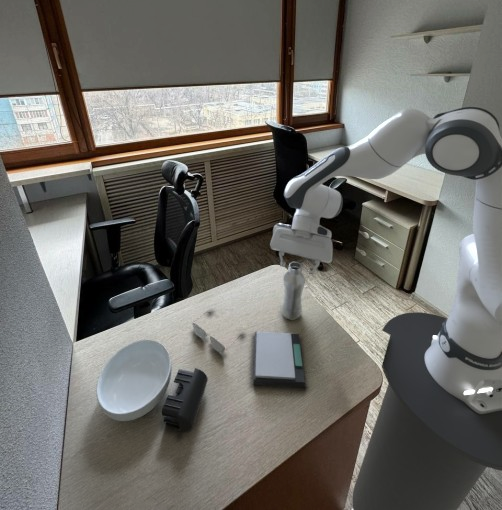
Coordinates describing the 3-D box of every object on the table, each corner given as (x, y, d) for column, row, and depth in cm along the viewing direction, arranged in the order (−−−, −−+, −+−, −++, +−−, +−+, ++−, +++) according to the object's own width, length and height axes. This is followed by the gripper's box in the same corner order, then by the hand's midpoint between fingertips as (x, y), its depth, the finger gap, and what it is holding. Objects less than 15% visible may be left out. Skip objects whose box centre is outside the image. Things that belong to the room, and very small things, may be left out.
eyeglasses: (191, 330, 82) (191, 320, 81) (210, 314, 88) (210, 304, 87) (225, 358, 74) (226, 347, 73) (243, 338, 81) (243, 328, 79)
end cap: (193, 436, 59) (191, 419, 56) (163, 429, 60) (159, 411, 57) (208, 387, 68) (207, 370, 65) (182, 381, 69) (180, 364, 66)
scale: (298, 338, 80) (299, 331, 79) (304, 387, 68) (305, 380, 67) (255, 336, 80) (255, 329, 79) (253, 384, 68) (253, 377, 67)
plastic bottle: (279, 305, 91) (282, 258, 83) (299, 305, 91) (304, 258, 83) (281, 322, 85) (285, 273, 77) (303, 322, 85) (308, 273, 77)
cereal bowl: (169, 425, 61) (165, 407, 58) (90, 439, 58) (83, 420, 56) (177, 351, 76) (174, 334, 73) (115, 360, 74) (110, 342, 71)
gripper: (273, 219, 91) (263, 261, 86) (336, 232, 84) (329, 278, 79) (276, 224, 96) (267, 263, 92) (335, 236, 89) (329, 279, 85)
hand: (296, 270), depth 85 cm, fingers open, 8 cm apart
